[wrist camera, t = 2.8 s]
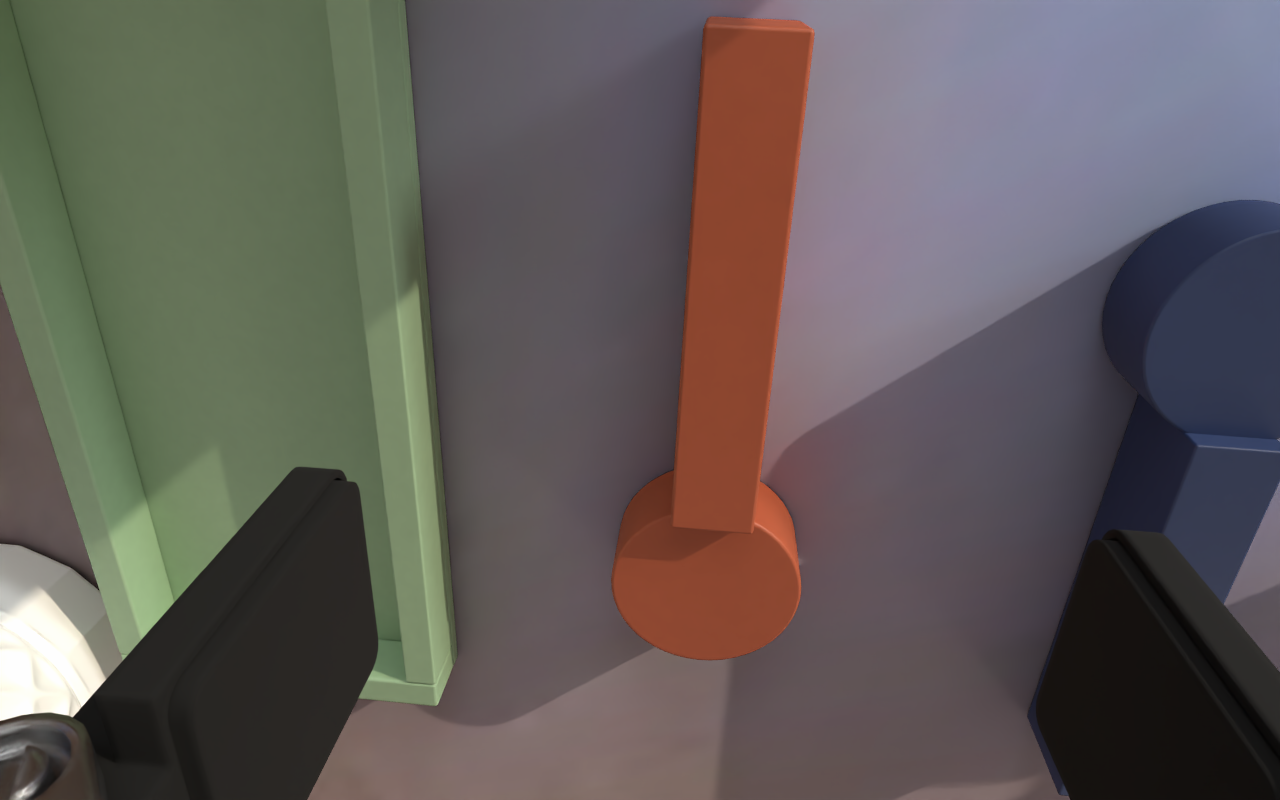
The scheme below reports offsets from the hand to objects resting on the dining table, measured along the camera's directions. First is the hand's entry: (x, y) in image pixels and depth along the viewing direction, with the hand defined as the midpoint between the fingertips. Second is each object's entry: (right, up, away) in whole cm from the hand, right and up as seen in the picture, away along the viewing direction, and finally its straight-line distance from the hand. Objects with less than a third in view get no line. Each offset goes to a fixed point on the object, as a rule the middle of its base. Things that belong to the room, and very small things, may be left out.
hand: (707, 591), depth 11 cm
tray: (-10, +5, +8) cm, 14 cm away
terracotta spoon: (+1, +3, +8) cm, 9 cm away
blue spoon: (+11, +1, +8) cm, 14 cm away
